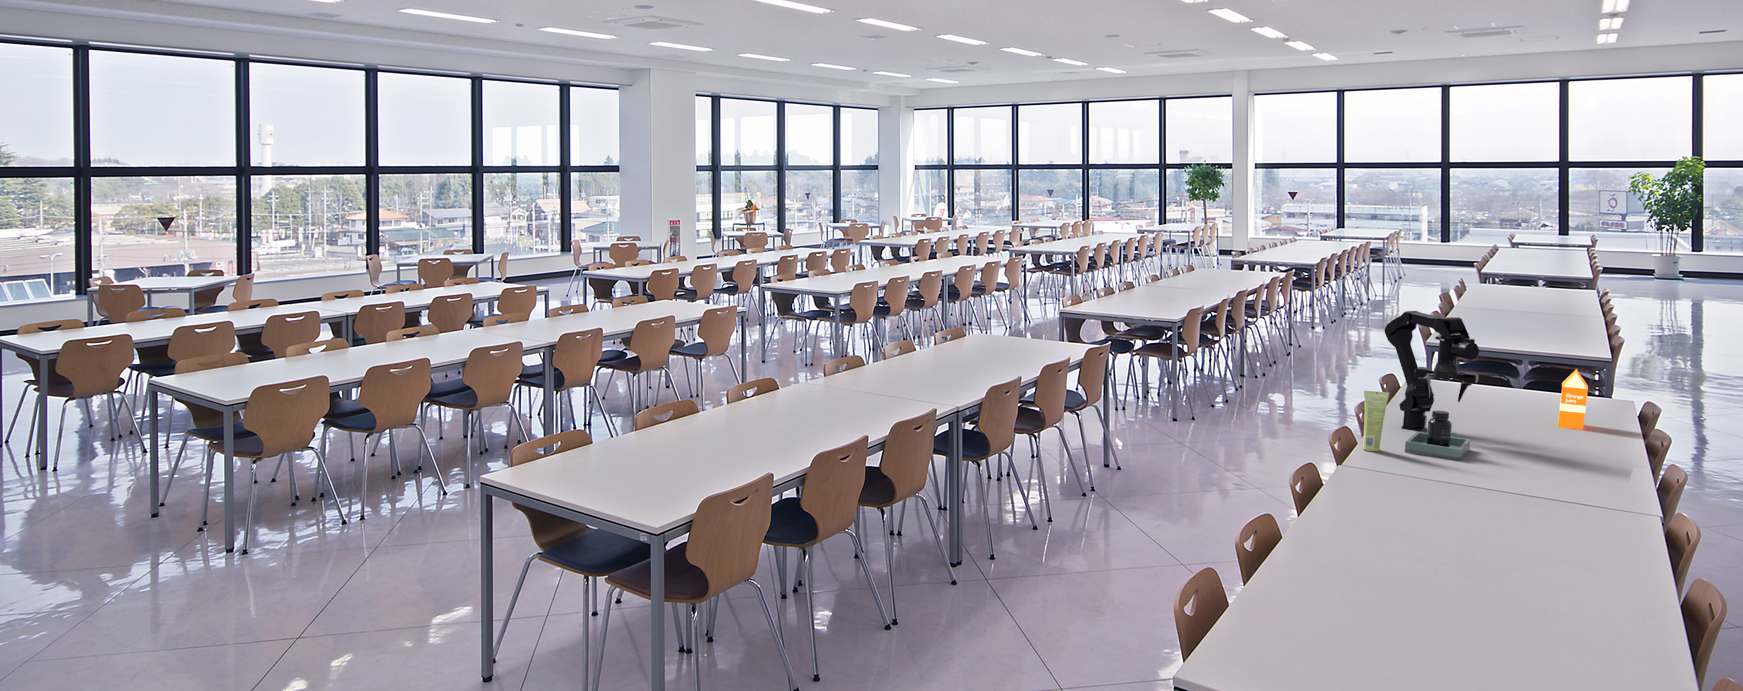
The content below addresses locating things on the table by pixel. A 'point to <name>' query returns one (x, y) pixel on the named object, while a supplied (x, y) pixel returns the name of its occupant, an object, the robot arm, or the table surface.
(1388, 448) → the table surface
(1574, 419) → the orange juice
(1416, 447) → the tray
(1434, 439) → the supplement bottle
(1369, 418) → the tube
